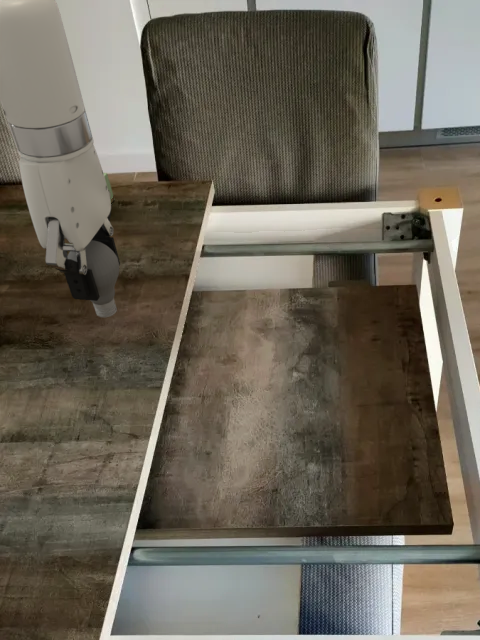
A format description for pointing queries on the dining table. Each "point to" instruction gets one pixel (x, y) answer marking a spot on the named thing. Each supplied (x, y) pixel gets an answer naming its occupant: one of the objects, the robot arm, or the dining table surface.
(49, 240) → the robot arm
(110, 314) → the light bulb
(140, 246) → the dining table surface
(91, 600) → the dining table surface
